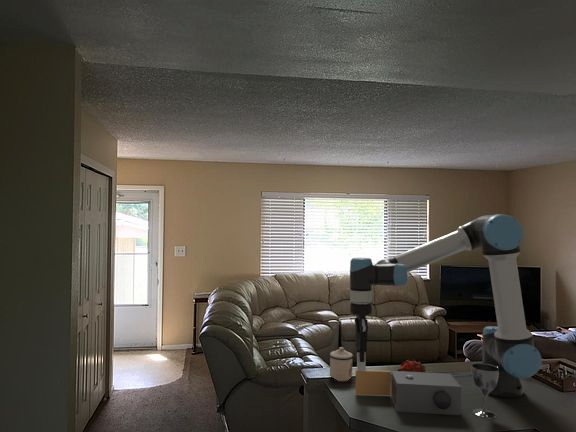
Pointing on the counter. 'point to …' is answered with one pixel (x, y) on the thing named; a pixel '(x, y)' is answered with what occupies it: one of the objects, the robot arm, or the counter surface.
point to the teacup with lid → (341, 364)
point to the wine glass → (485, 385)
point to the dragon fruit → (411, 366)
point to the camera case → (425, 393)
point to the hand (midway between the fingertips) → (361, 370)
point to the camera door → (373, 382)
